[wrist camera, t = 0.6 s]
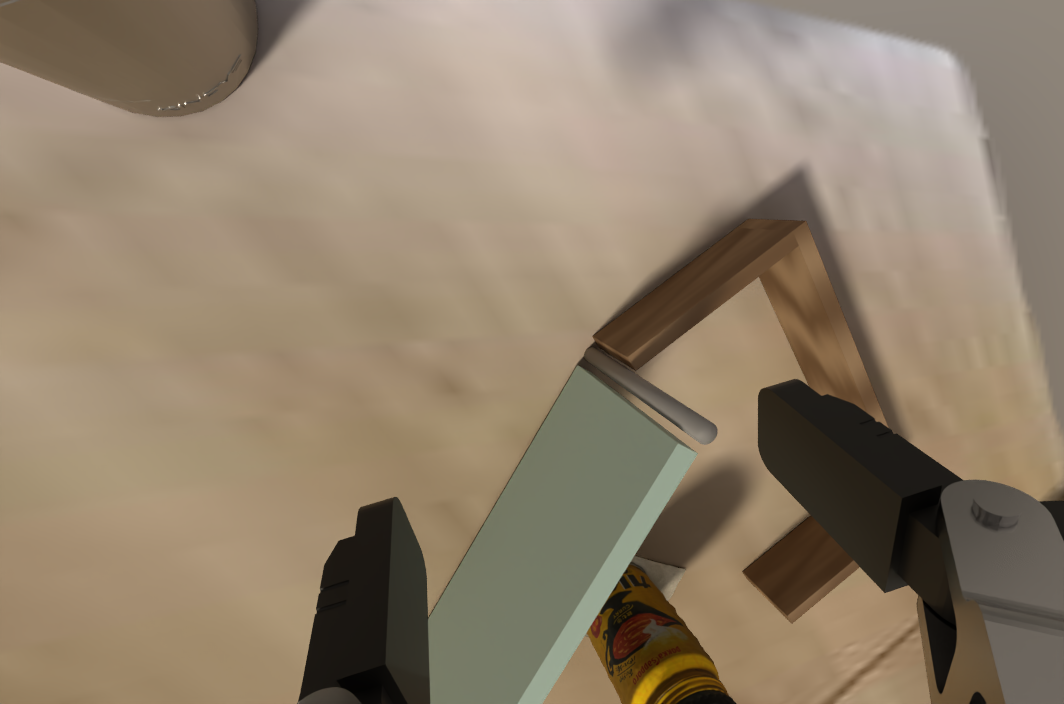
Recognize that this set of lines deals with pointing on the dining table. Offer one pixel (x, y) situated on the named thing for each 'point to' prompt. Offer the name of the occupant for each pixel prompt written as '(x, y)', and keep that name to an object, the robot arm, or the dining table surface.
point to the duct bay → (817, 341)
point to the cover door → (558, 539)
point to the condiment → (652, 642)
